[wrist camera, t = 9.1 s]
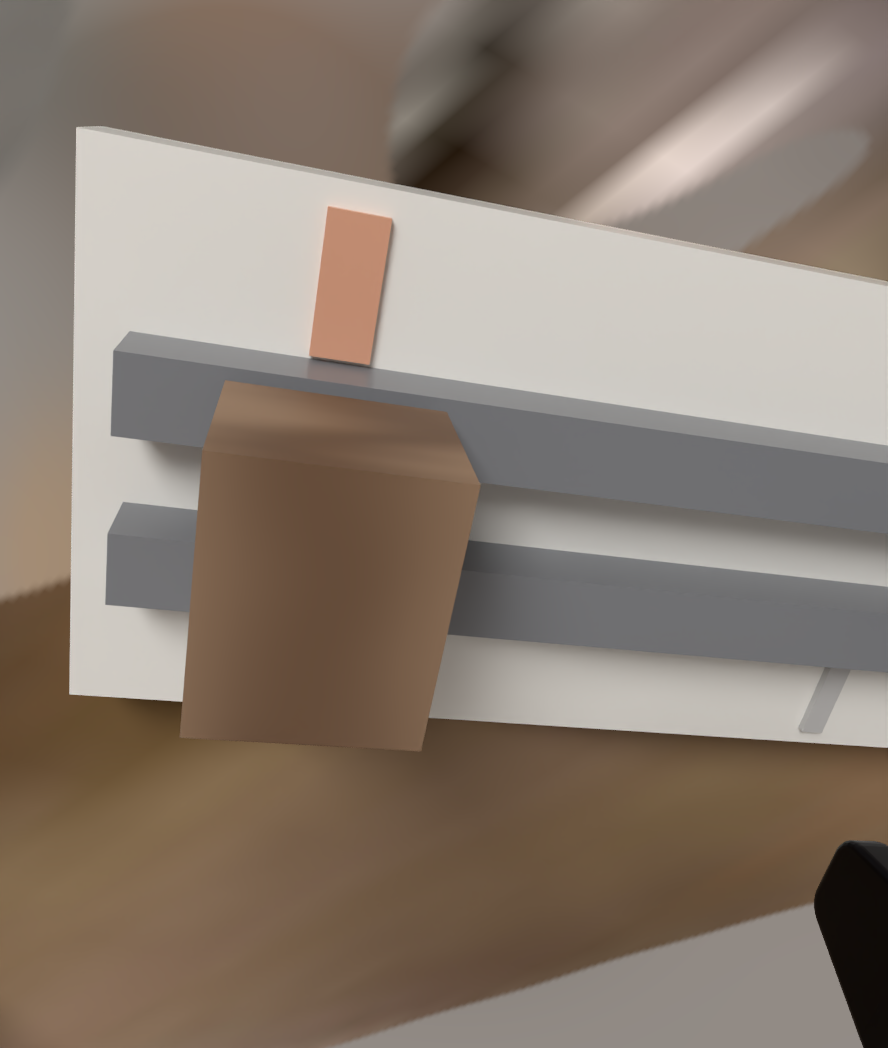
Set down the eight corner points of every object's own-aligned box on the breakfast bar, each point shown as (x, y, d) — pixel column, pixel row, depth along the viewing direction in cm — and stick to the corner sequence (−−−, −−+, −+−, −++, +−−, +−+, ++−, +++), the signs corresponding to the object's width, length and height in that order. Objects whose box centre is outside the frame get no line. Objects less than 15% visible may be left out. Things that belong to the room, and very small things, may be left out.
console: (1106, 324, 21) (1242, 359, 18) (910, 708, 26) (992, 789, 23) (102, 126, 16) (52, 128, 13) (89, 645, 21) (51, 737, 18)
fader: (434, 386, 17) (480, 485, 13) (394, 597, 19) (421, 750, 15) (232, 355, 16) (201, 450, 12) (213, 580, 18) (179, 737, 14)
